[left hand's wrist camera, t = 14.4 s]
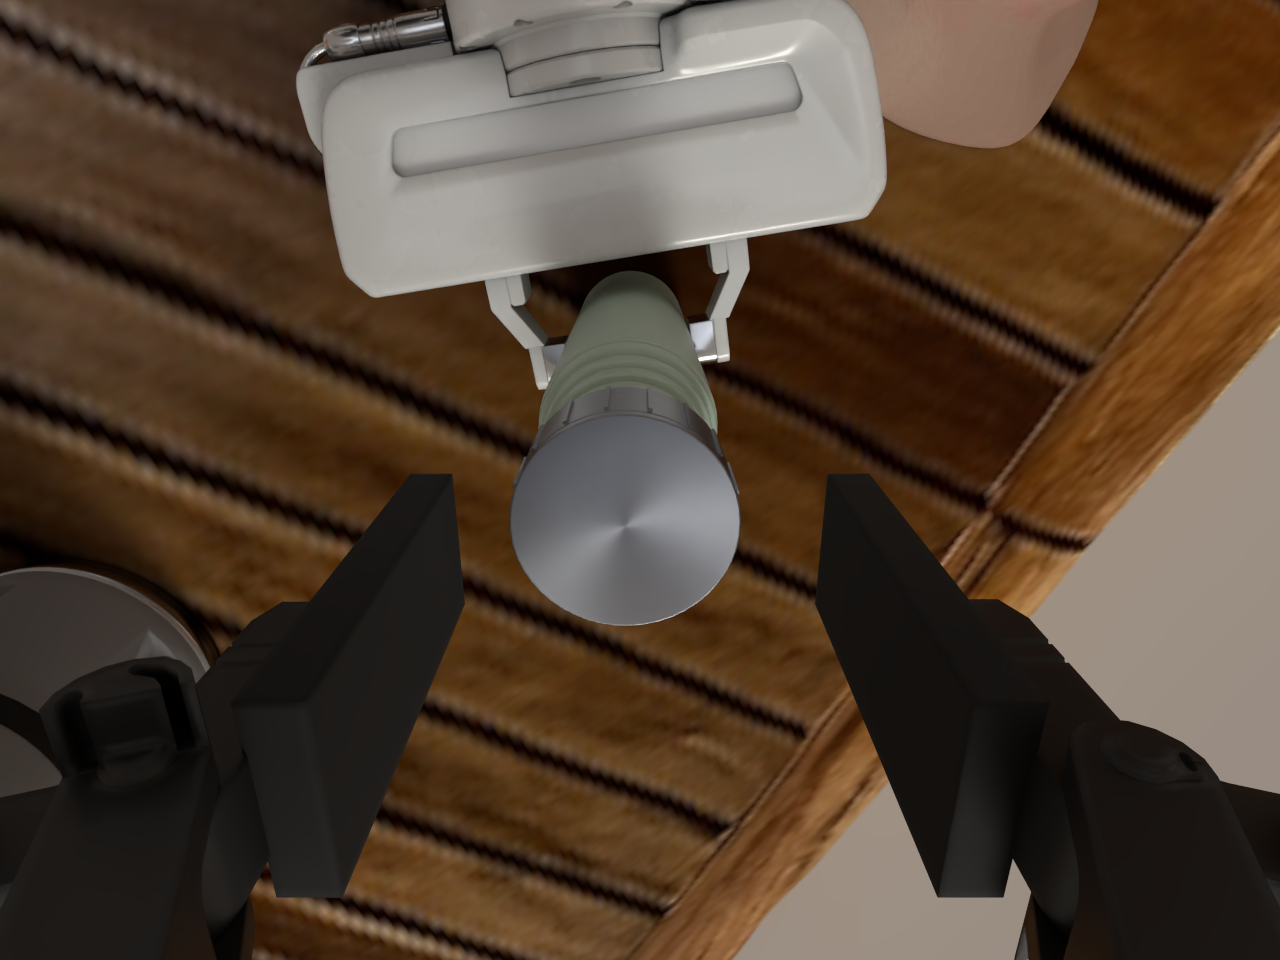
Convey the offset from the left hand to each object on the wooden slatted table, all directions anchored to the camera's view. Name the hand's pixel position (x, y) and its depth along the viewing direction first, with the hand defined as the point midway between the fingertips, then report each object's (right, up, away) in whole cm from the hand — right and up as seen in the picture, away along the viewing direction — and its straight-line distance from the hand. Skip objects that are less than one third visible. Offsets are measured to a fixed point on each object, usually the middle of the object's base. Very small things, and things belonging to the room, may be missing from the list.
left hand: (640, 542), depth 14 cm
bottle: (0, +9, +23) cm, 25 cm away
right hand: (0, +6, +17) cm, 18 cm away
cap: (0, 0, +1) cm, 1 cm away
